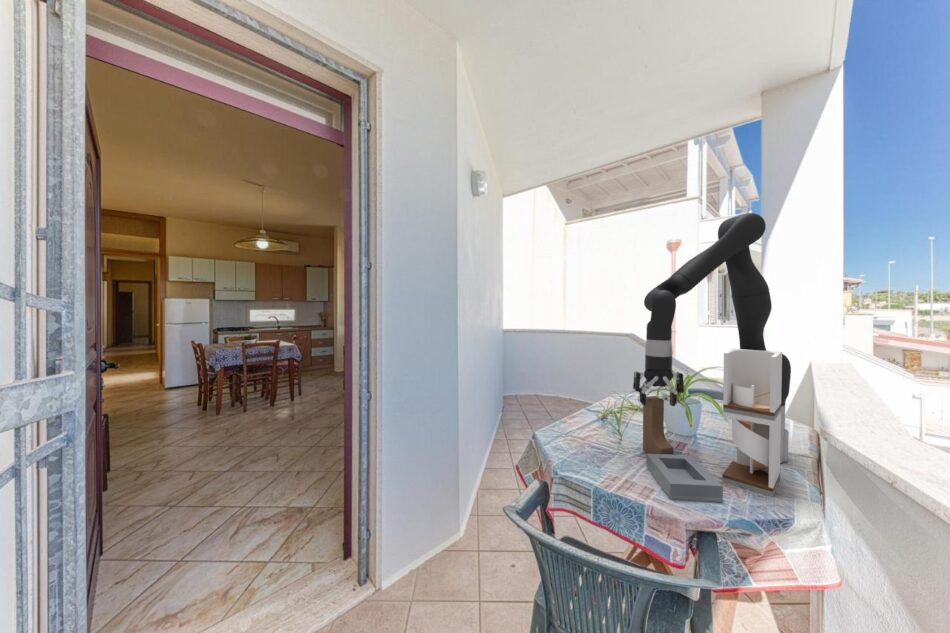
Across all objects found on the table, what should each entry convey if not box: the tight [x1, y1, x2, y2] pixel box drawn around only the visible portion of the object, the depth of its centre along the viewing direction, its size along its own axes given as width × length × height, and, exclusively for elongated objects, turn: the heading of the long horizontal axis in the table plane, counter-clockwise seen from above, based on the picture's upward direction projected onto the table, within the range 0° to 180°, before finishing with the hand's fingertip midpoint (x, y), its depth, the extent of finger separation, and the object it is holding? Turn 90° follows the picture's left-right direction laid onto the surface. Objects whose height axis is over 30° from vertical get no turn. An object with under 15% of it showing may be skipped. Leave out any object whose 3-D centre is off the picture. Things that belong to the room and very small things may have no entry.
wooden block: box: [642, 395, 675, 455], centre depth 113 cm, size 9×4×18 cm, turn 9°
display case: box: [721, 348, 783, 498], centre depth 96 cm, size 11×11×35 cm
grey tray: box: [646, 453, 724, 503], centre depth 97 cm, size 12×18×4 cm
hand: (657, 405), depth 113 cm, fingers open, 8 cm apart
